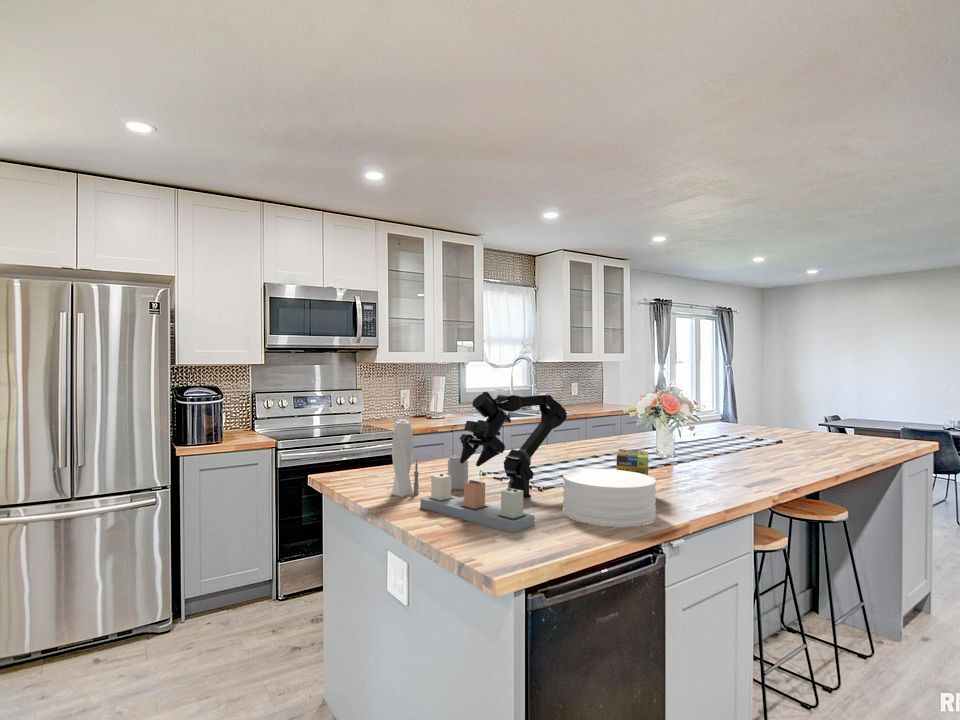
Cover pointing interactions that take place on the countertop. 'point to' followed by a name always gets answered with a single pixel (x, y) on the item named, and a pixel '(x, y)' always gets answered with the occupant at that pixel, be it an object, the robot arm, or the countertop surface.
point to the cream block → (441, 486)
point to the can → (457, 472)
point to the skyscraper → (403, 459)
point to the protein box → (632, 461)
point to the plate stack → (609, 497)
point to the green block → (511, 503)
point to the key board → (478, 514)
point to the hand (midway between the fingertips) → (468, 464)
